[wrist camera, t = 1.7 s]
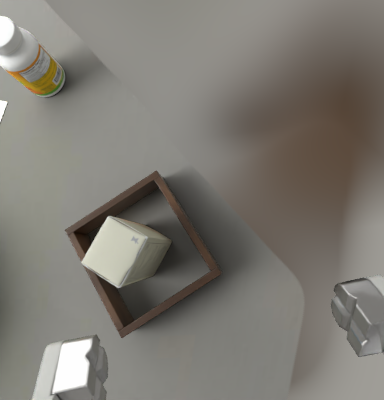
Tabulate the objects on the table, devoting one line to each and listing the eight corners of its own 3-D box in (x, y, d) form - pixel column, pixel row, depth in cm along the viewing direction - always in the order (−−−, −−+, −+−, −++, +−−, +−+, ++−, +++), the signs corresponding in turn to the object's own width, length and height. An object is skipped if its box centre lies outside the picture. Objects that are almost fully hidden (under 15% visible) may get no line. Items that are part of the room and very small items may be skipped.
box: (144, 223, 38) (109, 211, 27) (173, 241, 37) (150, 234, 27) (122, 261, 38) (78, 263, 27) (151, 279, 37) (119, 289, 26)
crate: (222, 272, 36) (221, 273, 33) (131, 330, 36) (121, 338, 33) (163, 177, 39) (156, 170, 36) (79, 232, 39) (64, 229, 36)
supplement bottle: (24, 75, 44) (-32, 26, 35) (57, 56, 44) (9, 1, 35) (39, 105, 43) (-15, 62, 34) (72, 85, 43) (27, 36, 34)
